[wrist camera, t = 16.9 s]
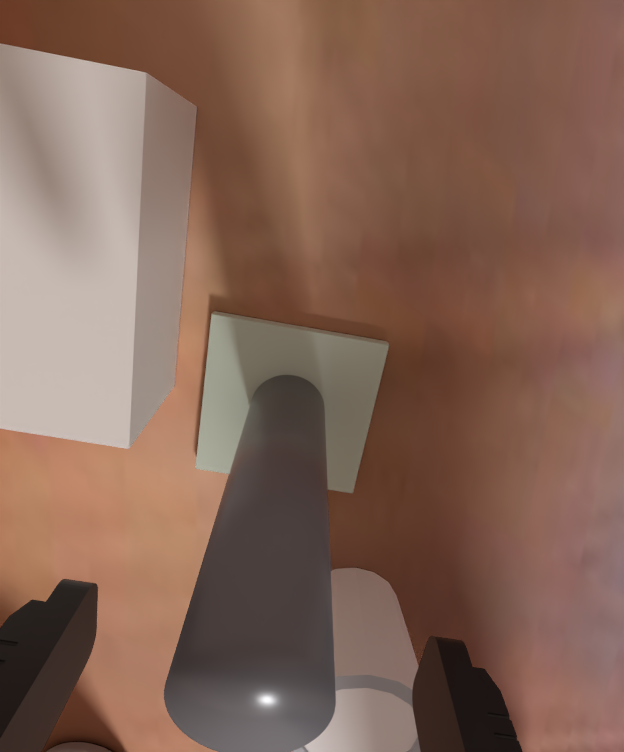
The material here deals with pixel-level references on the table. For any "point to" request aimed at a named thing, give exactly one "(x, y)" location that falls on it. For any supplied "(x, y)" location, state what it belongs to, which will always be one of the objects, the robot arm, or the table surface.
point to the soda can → (78, 747)
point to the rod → (263, 589)
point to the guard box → (89, 244)
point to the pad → (288, 357)
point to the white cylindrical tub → (369, 669)
